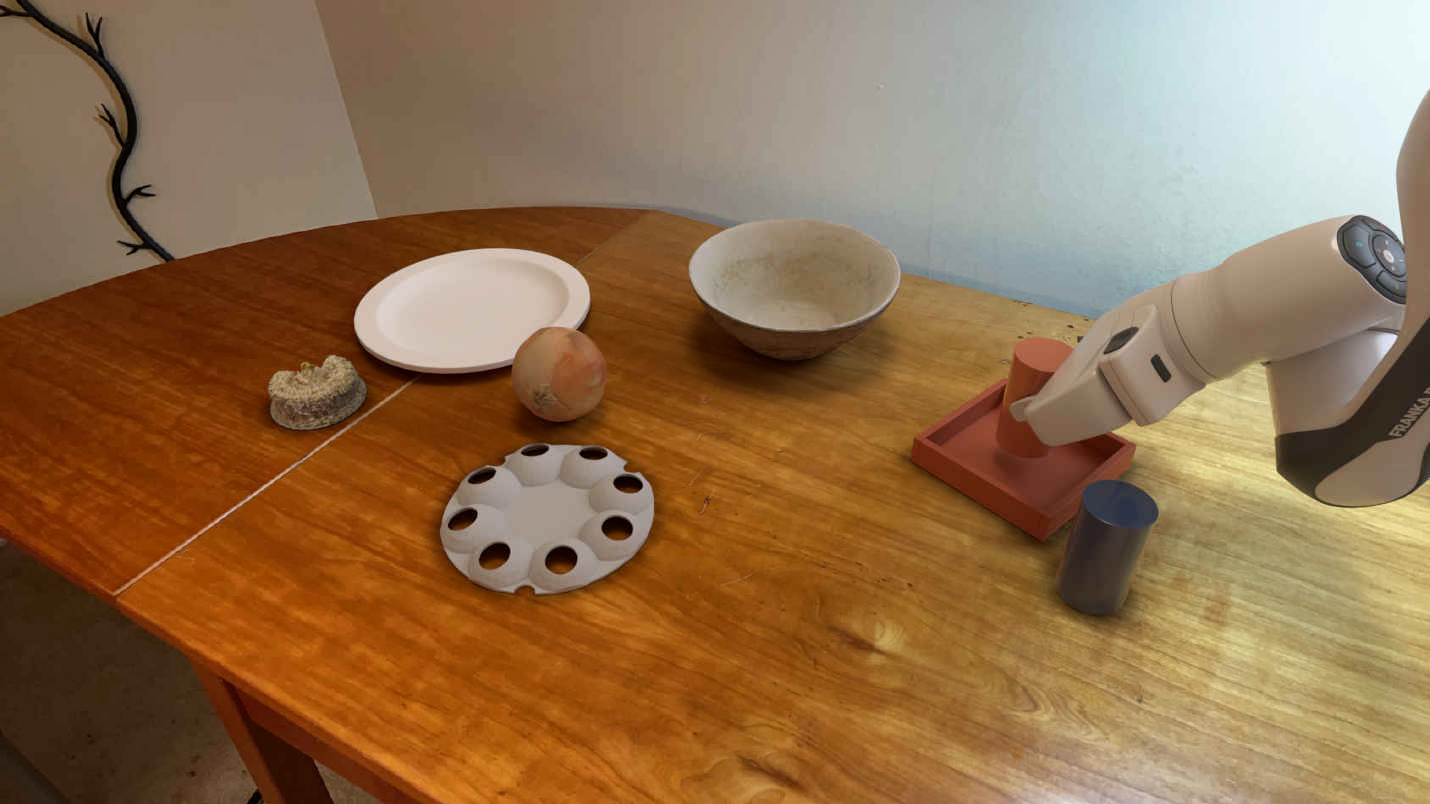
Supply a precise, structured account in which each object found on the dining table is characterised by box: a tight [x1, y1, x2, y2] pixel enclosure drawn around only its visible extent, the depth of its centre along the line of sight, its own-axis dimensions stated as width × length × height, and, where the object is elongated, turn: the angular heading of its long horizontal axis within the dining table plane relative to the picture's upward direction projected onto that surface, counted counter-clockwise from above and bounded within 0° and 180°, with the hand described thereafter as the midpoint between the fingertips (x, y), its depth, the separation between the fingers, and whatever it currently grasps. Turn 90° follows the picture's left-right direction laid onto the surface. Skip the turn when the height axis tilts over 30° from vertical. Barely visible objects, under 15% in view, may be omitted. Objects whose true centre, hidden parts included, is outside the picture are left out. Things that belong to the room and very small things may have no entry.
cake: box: [267, 354, 368, 431], centre depth 97 cm, size 10×10×5 cm
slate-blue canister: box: [1054, 479, 1160, 616], centre depth 73 cm, size 6×6×10 cm
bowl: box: [688, 218, 902, 362], centre depth 105 cm, size 24×24×10 cm
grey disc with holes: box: [439, 442, 655, 596], centre depth 84 cm, size 20×20×2 cm
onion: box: [511, 327, 607, 423], centre depth 94 cm, size 10×10×10 cm
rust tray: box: [910, 377, 1138, 543], centre depth 88 cm, size 15×15×3 cm
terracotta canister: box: [995, 336, 1074, 459], centre depth 85 cm, size 6×6×10 cm
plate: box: [353, 247, 591, 374], centre depth 111 cm, size 28×28×2 cm
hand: (1030, 393), depth 85 cm, fingers closed on terracotta canister, 5 cm apart
